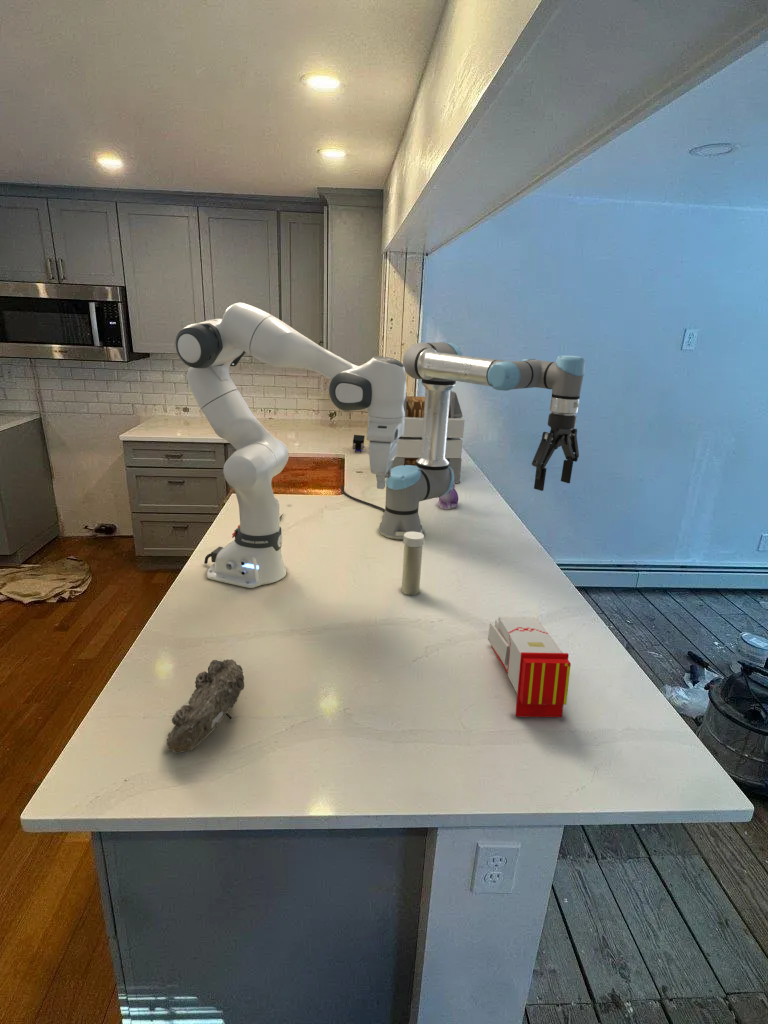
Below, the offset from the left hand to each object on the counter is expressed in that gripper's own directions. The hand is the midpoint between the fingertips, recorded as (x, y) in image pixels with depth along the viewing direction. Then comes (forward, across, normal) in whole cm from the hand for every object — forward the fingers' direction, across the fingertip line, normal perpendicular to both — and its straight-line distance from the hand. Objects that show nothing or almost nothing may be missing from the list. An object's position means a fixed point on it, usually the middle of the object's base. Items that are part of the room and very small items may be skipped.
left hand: (384, 482), depth 140 cm
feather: (+34, -56, -46) cm, 80 cm away
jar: (+34, -10, +7) cm, 36 cm away
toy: (+34, +24, +35) cm, 55 cm away
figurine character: (+34, -167, -39) cm, 175 cm away
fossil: (+34, +50, -24) cm, 65 cm away
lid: (+18, -10, +7) cm, 21 cm away
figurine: (+34, -86, +14) cm, 94 cm away
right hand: (+7, -31, +45) cm, 55 cm away
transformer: (+34, -132, -2) cm, 136 cm away
